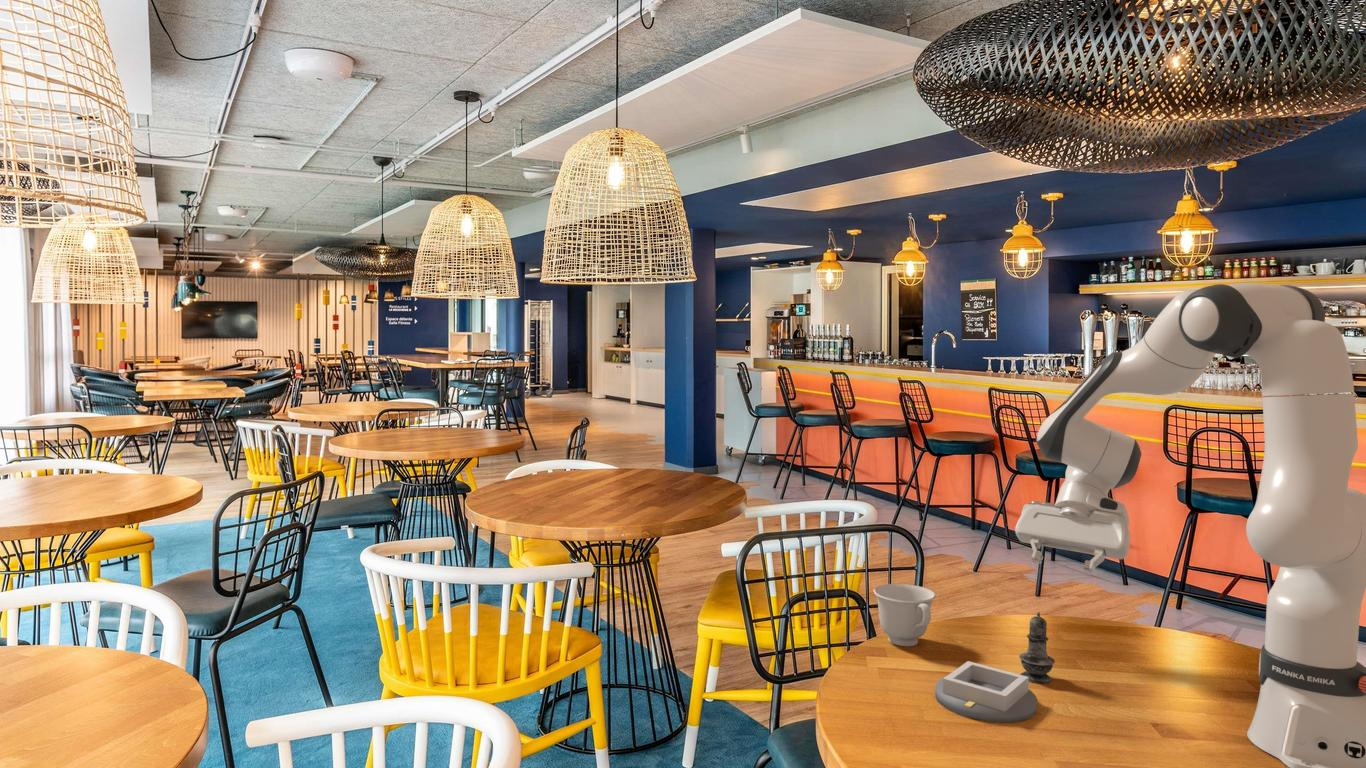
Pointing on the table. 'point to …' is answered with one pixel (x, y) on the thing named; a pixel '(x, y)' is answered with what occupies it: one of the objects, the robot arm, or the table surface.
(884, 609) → the teacup
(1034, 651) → the dark grey tapered piece
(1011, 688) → the socket stand
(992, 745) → the table surface
